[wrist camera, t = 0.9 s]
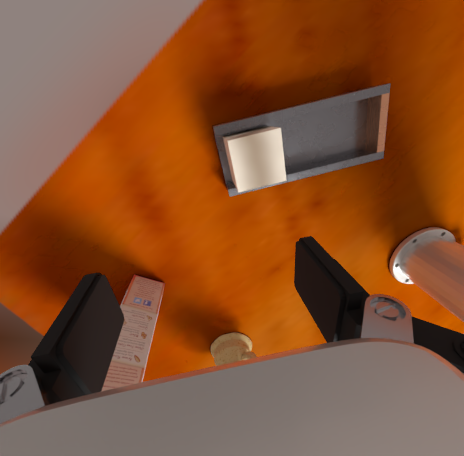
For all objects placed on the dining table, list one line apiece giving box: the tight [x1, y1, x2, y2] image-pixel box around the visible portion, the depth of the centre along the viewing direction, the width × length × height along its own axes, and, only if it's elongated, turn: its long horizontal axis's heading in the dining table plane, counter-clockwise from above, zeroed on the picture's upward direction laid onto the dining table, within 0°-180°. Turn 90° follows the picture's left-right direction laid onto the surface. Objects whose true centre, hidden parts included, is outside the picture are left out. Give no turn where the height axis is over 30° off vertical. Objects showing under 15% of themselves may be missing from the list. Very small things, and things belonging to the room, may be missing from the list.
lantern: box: [210, 332, 256, 366], centre depth 37 cm, size 12×10×30 cm
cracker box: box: [102, 275, 165, 391], centre depth 33 cm, size 14×6×21 cm, turn 154°
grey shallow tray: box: [212, 83, 390, 196], centre depth 31 cm, size 22×9×3 cm, turn 102°
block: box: [223, 126, 286, 193], centre depth 29 cm, size 6×6×6 cm
